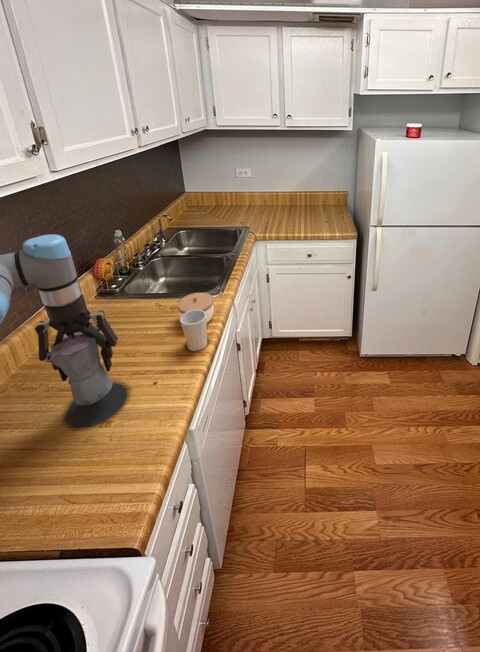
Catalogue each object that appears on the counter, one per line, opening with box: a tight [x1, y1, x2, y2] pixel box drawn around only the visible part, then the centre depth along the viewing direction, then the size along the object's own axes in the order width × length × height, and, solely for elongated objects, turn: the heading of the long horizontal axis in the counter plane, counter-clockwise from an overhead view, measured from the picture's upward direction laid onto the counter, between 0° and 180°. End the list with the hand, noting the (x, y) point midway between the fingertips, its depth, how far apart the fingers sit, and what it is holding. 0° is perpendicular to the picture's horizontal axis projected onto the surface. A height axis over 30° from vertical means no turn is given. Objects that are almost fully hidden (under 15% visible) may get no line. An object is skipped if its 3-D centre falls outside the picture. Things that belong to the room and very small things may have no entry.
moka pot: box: [44, 324, 114, 405], centre depth 85 cm, size 10×15×20 cm, turn 159°
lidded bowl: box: [177, 292, 215, 324], centre depth 123 cm, size 13×13×11 cm
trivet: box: [66, 382, 128, 428], centre depth 90 cm, size 14×14×1 cm
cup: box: [179, 310, 208, 352], centre depth 110 cm, size 8×8×12 cm
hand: (88, 372), depth 86 cm, fingers closed on moka pot, 9 cm apart
